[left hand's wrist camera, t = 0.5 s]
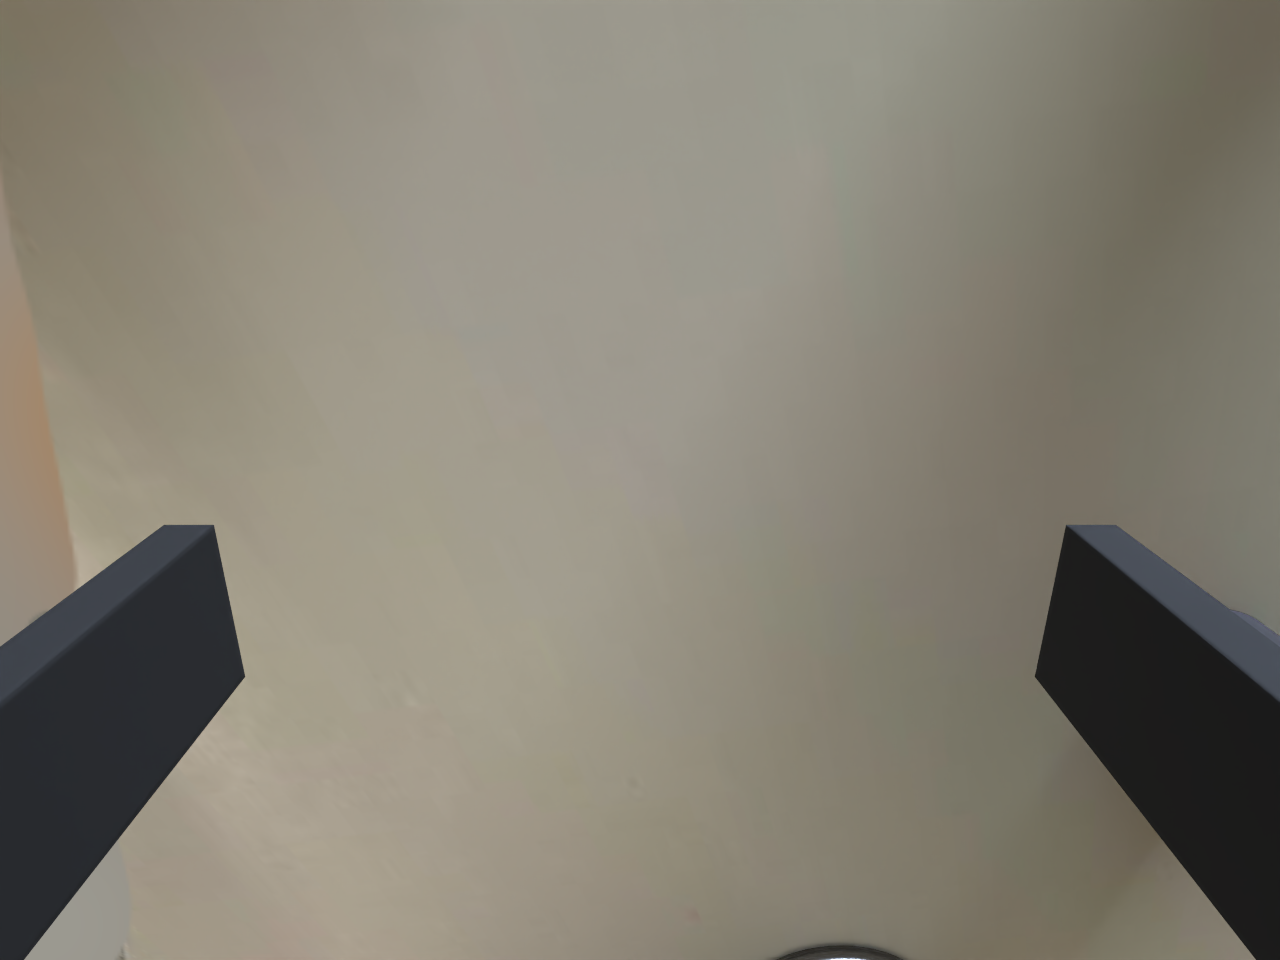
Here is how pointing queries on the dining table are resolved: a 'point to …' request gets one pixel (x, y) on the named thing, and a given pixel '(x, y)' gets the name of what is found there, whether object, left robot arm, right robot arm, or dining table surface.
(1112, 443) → the dining table surface
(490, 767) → the dining table surface
